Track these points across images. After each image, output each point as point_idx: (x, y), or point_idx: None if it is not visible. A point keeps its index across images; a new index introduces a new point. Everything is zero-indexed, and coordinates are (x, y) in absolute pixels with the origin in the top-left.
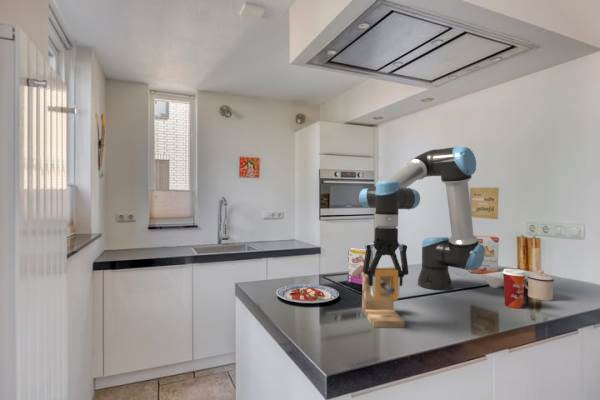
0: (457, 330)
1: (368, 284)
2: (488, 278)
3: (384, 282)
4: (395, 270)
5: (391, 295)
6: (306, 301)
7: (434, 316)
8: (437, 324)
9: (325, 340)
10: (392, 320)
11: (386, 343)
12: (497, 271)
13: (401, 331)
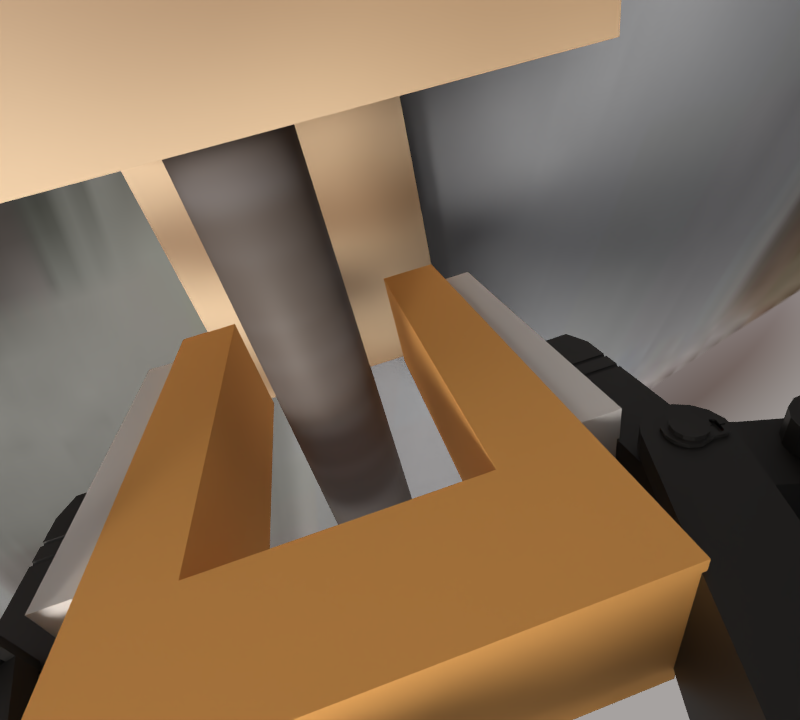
0: (697, 276)
1: (77, 507)
2: None
3: (336, 442)
4: (611, 689)
5: (402, 336)
6: None
7: (705, 31)
8: (641, 213)
9: None
10: (369, 354)
11: (328, 514)
12: None
13: (407, 380)
